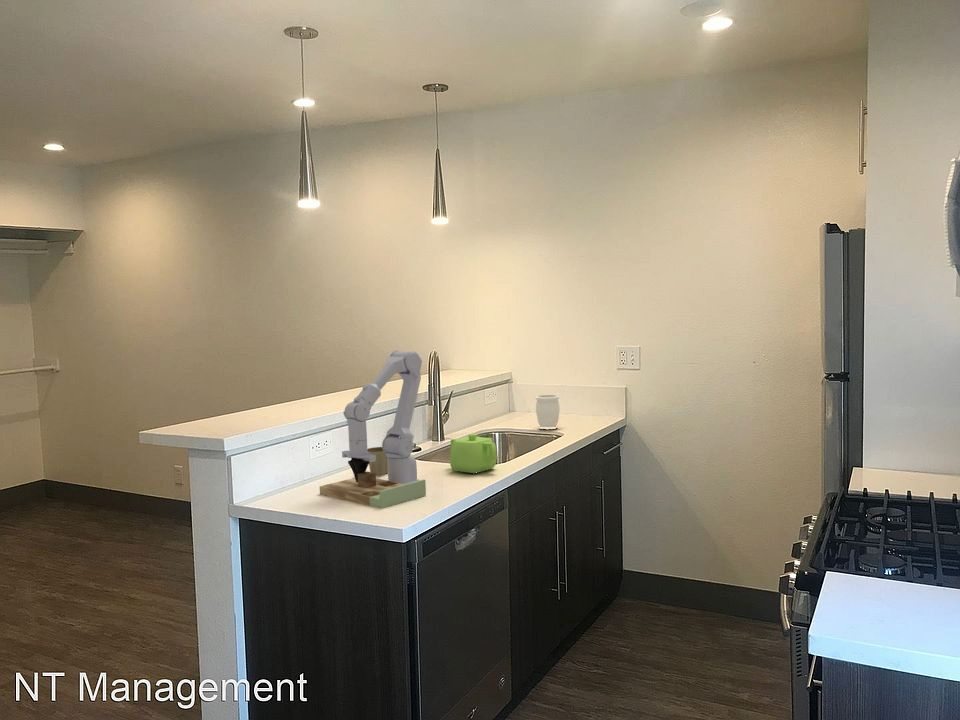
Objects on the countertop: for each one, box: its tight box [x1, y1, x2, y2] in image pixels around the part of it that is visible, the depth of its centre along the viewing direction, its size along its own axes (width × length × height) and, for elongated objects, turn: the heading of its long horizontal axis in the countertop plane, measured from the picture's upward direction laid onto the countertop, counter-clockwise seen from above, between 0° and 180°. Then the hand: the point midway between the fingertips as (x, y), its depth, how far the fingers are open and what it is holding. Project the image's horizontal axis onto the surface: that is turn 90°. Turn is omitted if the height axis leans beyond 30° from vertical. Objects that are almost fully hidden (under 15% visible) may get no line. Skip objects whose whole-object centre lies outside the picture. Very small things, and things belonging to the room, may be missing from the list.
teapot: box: [449, 433, 498, 474], centre depth 287 cm, size 18×20×13 cm
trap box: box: [319, 477, 427, 509], centre depth 255 cm, size 18×30×5 cm, turn 48°
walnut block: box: [358, 470, 377, 488], centre depth 257 cm, size 4×4×4 cm
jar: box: [535, 394, 560, 427], centre depth 367 cm, size 11×10×15 cm
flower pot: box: [367, 446, 388, 476], centre depth 286 cm, size 9×9×9 cm
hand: (359, 481), depth 259 cm, fingers closed
